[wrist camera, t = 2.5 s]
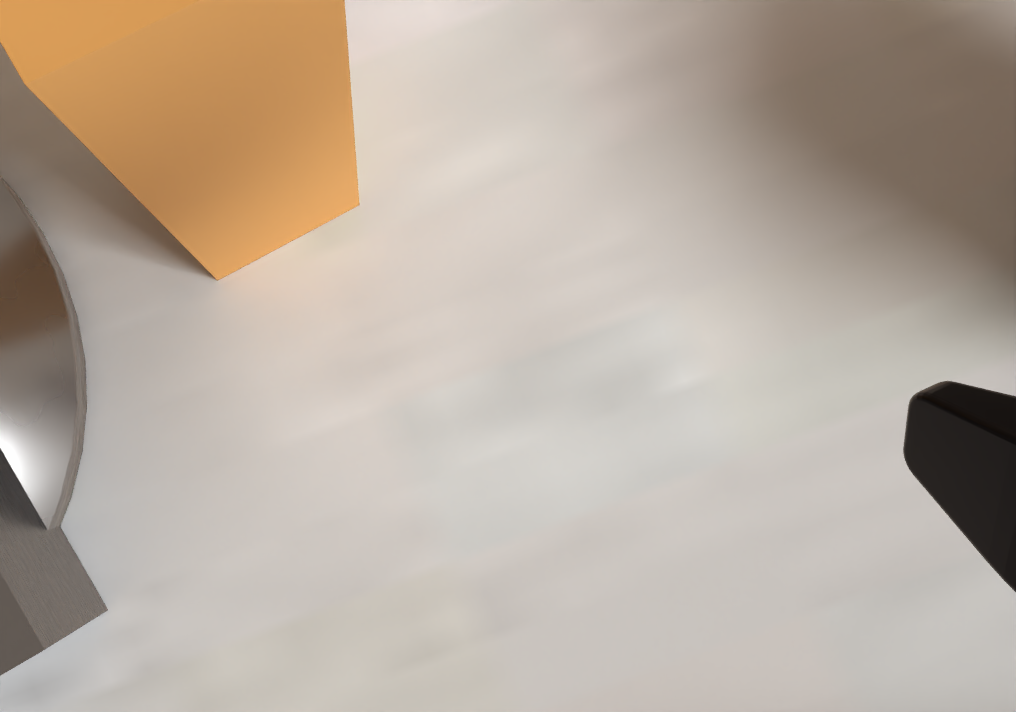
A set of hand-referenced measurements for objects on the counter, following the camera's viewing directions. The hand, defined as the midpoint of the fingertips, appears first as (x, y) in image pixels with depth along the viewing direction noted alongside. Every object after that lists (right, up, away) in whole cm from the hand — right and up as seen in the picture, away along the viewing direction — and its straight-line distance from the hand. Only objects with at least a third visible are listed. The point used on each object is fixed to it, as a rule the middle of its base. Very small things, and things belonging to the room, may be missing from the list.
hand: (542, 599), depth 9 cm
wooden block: (-6, +6, +13) cm, 15 cm away
